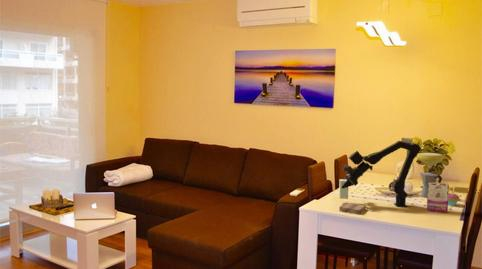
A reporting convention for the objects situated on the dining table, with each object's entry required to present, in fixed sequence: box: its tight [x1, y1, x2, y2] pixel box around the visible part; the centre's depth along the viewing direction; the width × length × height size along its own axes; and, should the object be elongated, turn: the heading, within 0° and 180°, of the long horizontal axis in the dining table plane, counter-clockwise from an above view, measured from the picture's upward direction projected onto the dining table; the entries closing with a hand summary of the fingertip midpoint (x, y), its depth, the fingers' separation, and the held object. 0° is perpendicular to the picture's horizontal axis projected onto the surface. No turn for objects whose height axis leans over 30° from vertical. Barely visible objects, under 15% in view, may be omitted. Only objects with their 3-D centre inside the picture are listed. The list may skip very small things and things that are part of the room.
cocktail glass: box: [416, 151, 445, 189], centre depth 318 cm, size 18×18×25 cm
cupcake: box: [448, 186, 460, 207], centre depth 273 cm, size 9×8×12 cm
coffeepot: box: [420, 169, 443, 199], centre depth 292 cm, size 15×9×18 cm, turn 33°
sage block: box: [338, 178, 349, 200], centre depth 275 cm, size 5×5×11 cm
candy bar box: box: [426, 182, 450, 213], centre depth 259 cm, size 11×5×16 cm, turn 68°
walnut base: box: [339, 202, 367, 215], centre depth 260 cm, size 12×12×2 cm
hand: (341, 187), depth 275 cm, fingers closed on sage block, 5 cm apart
